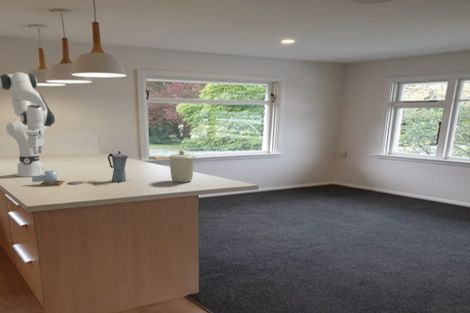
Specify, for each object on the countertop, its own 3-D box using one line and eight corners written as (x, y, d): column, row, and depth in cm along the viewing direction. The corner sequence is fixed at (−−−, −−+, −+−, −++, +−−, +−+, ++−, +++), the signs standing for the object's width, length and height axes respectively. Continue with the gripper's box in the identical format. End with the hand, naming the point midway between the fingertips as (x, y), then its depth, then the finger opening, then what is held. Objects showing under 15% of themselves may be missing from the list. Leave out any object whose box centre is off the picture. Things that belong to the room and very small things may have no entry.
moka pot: (125, 182, 212) (124, 152, 210) (103, 181, 215) (102, 151, 213) (132, 180, 222) (131, 150, 219) (112, 179, 225) (111, 150, 222)
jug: (58, 182, 207) (57, 170, 206) (56, 184, 201) (55, 171, 200) (34, 183, 203) (33, 171, 202) (31, 185, 197) (30, 172, 196)
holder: (43, 183, 209) (43, 180, 209) (66, 182, 213) (65, 179, 213) (35, 188, 193) (35, 185, 193) (60, 187, 197) (59, 184, 196)
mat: (69, 183, 210) (68, 181, 210) (85, 182, 212) (85, 180, 212) (65, 186, 200) (65, 184, 200) (83, 185, 203) (83, 184, 203)
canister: (181, 177, 232) (181, 148, 229) (201, 180, 222) (201, 149, 219) (162, 181, 217) (162, 150, 215) (182, 185, 207) (181, 152, 204)
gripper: (35, 130, 211) (37, 152, 213) (25, 132, 191) (26, 155, 193) (46, 130, 213) (47, 151, 214) (37, 132, 193) (38, 155, 195)
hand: (37, 153), depth 204 cm, fingers open, 7 cm apart
